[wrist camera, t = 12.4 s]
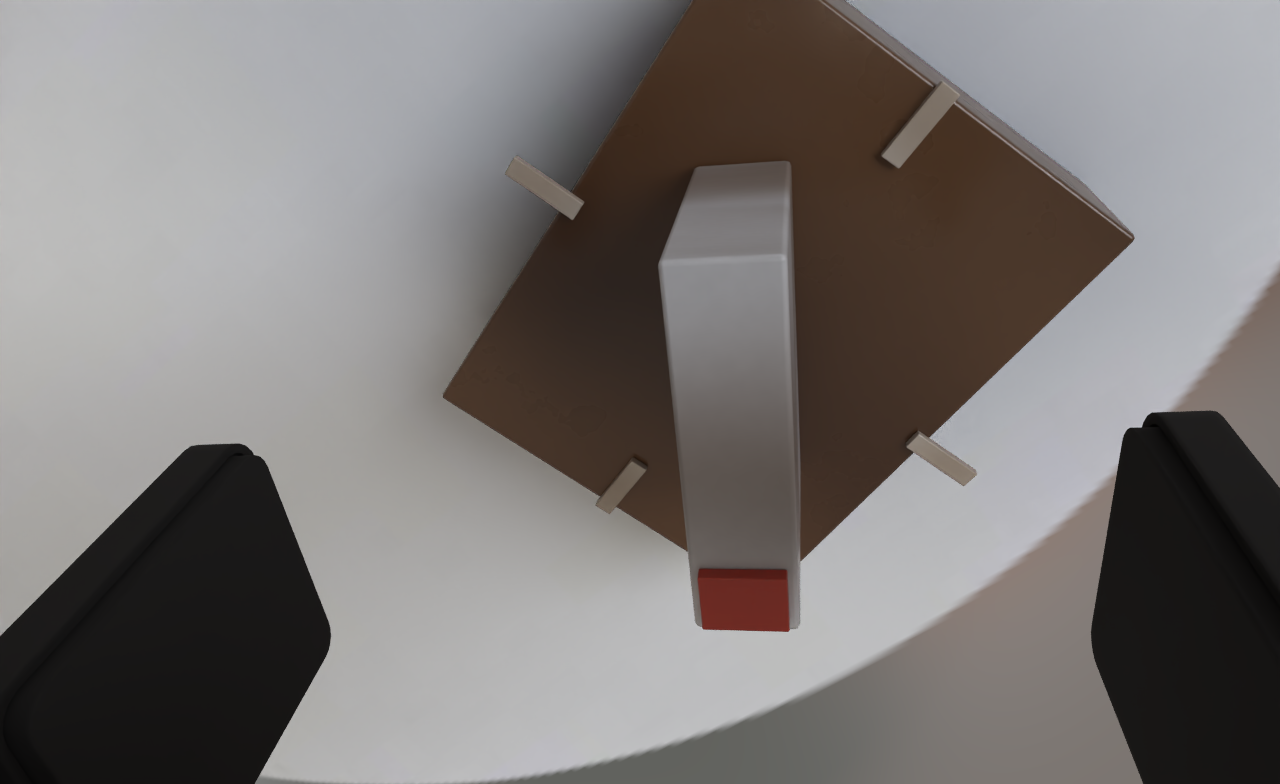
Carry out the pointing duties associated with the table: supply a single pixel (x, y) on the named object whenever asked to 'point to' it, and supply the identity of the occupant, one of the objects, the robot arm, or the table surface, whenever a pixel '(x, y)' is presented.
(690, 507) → the white slab
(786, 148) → the brown square base
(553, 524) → the table surface
